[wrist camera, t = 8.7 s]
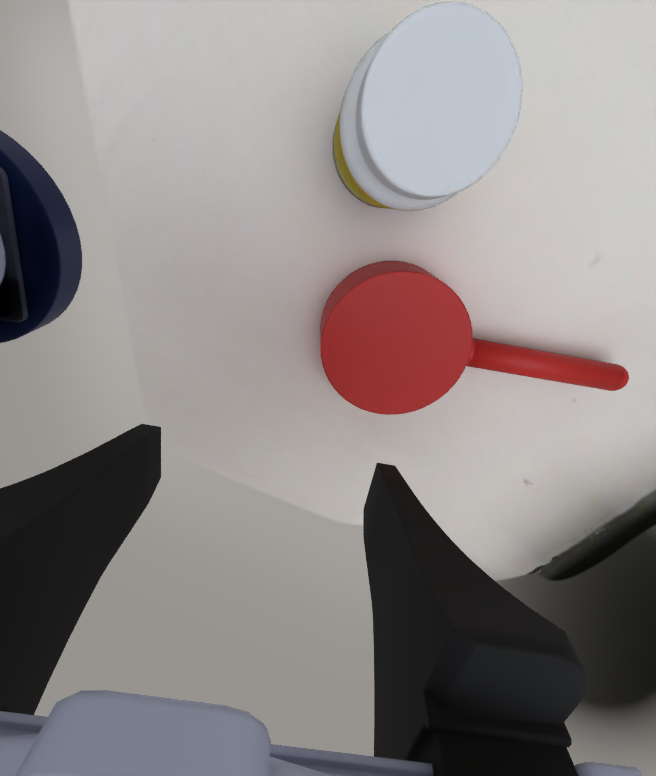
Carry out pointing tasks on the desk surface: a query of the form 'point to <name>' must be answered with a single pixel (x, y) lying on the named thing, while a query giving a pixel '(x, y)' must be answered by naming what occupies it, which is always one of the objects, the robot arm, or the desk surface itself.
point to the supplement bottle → (428, 108)
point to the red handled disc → (423, 343)
